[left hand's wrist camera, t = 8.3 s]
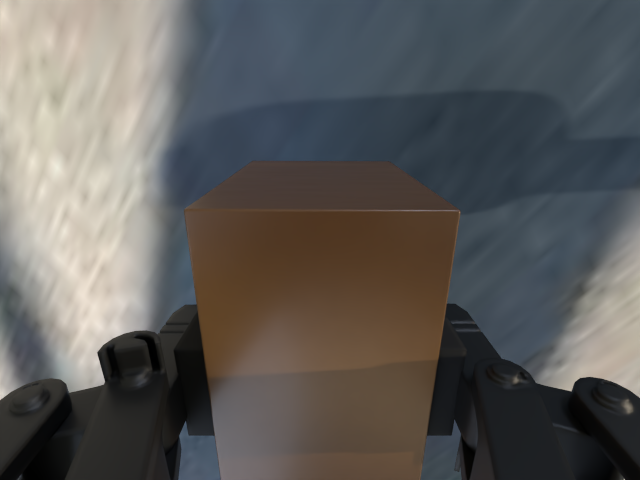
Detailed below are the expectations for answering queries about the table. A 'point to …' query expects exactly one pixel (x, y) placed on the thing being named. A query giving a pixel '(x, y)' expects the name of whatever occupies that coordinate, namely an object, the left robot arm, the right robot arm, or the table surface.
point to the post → (321, 317)
